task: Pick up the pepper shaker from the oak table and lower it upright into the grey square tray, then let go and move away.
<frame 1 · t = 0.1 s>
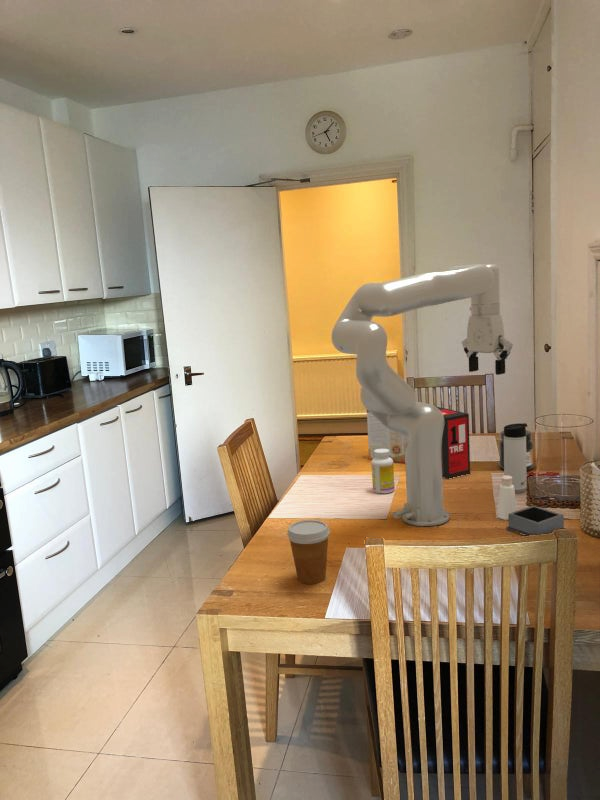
hand: (486, 372, 184), 37 cm above the table, tool pointing down, fingers open, 9 cm apart
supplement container: (516, 468, 218), on the table
pepper shaker: (507, 517, 177), on the table
disposable coffee cup: (311, 578, 149), on the table
travel mug: (516, 490, 196), on the table
grey square tray: (535, 530, 166), on the table
cleaning product box: (443, 471, 220), on the table
supplement bottle: (383, 491, 204), on the table
cracker box: (390, 460, 238), on the table
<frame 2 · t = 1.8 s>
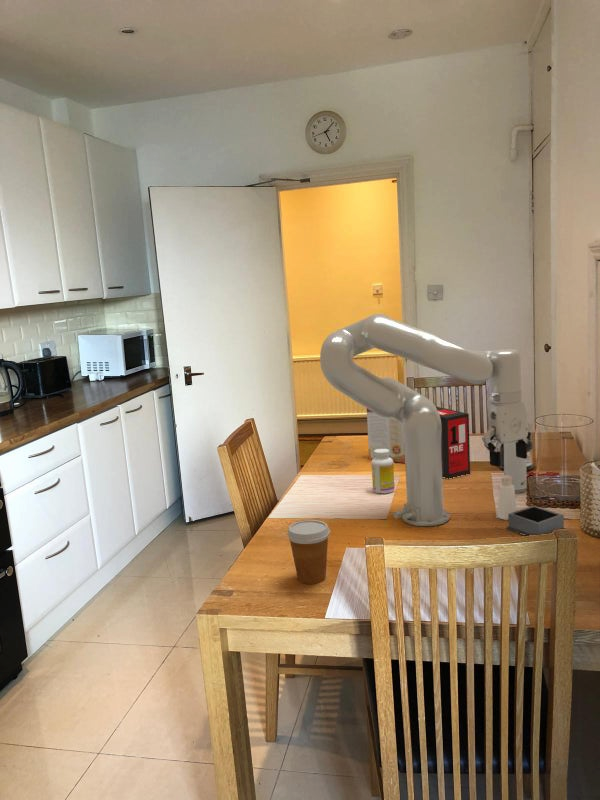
hand: (508, 461, 174), 15 cm above the table, tool pointing down, fingers open, 9 cm apart
nothing on the table moved.
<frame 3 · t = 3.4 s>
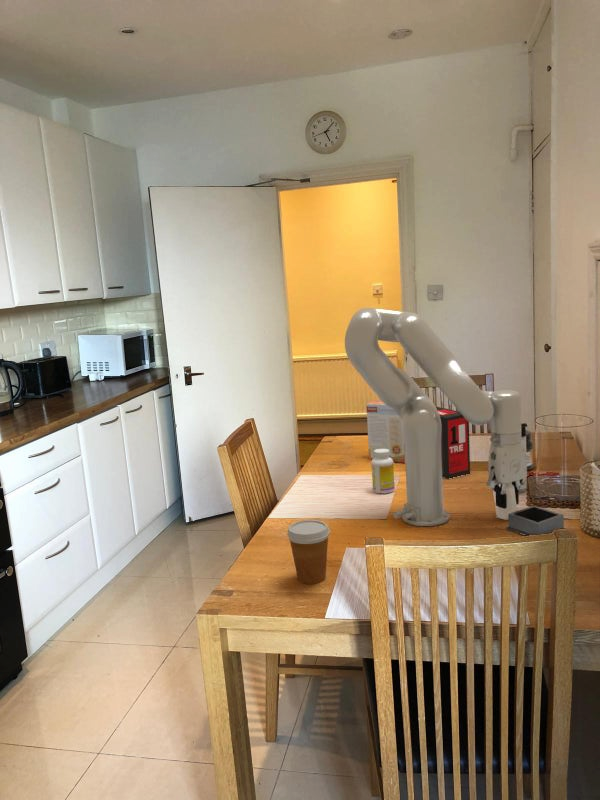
hand: (507, 504, 176), 3 cm above the table, tool pointing down, fingers closed on pepper shaker, 3 cm apart
pepper shaker: (507, 517, 177), on the table, touching gripper
everything else where it was.
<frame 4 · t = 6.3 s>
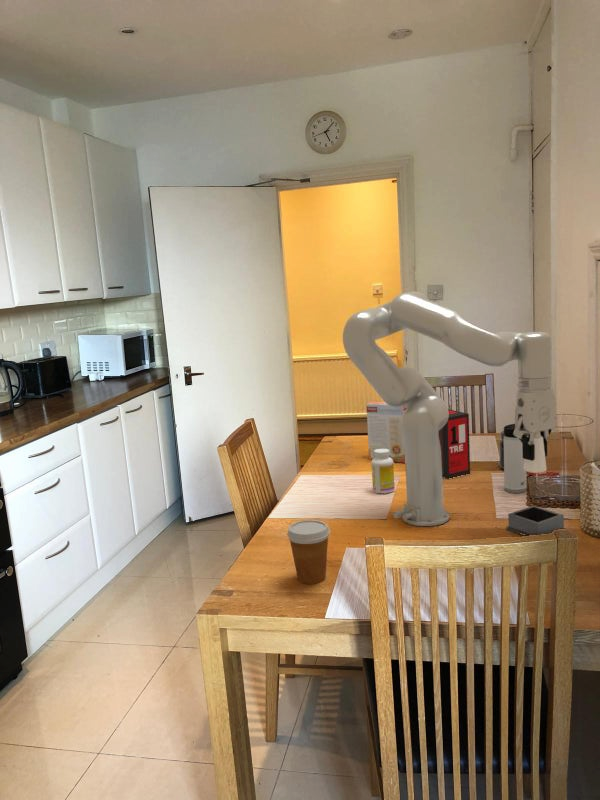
hand: (534, 456, 163), 19 cm above the table, tool pointing down, fingers closed on pepper shaker, 3 cm apart
pepper shaker: (535, 470, 163), point 15 cm above the table, touching gripper
everything else where it was.
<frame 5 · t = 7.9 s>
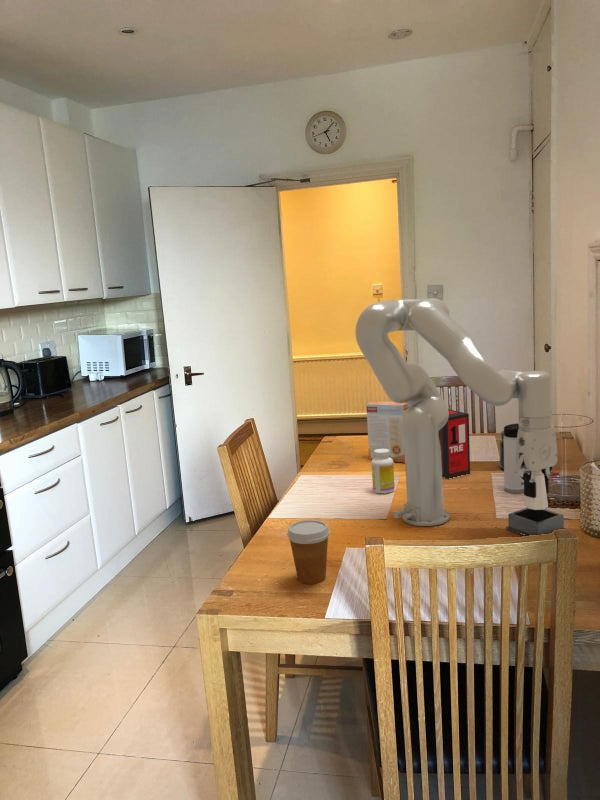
hand: (536, 493, 164), 10 cm above the table, tool pointing down, fingers closed on pepper shaker, 3 cm apart
pepper shaker: (536, 507, 165), point 6 cm above the table, touching gripper
everything else where it was.
when the fingers open (5 cm above the table, at t = 9.1 s): pepper shaker drops 1 cm, resting on grey square tray.
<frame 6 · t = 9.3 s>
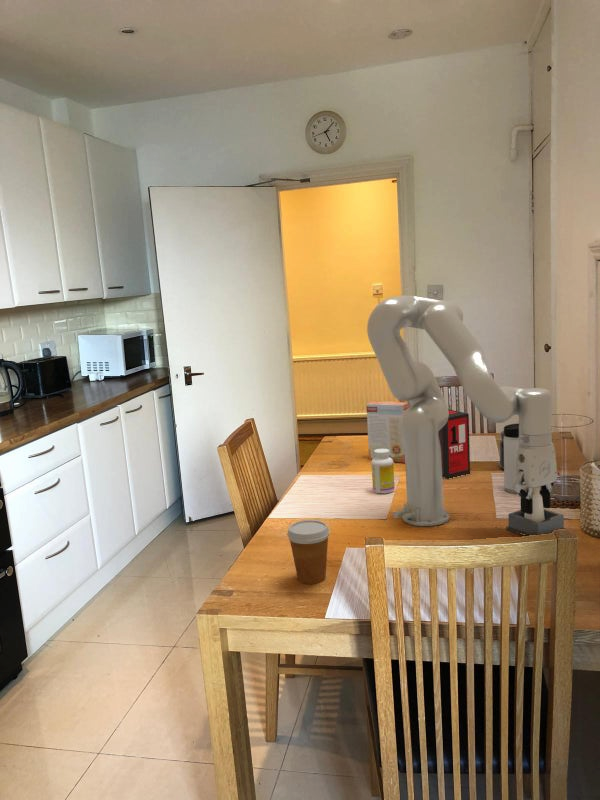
hand: (535, 509, 165), 6 cm above the table, tool pointing down, fingers open, 5 cm apart
pepper shaker: (534, 528, 166), resting on grey square tray
everything else where it was.
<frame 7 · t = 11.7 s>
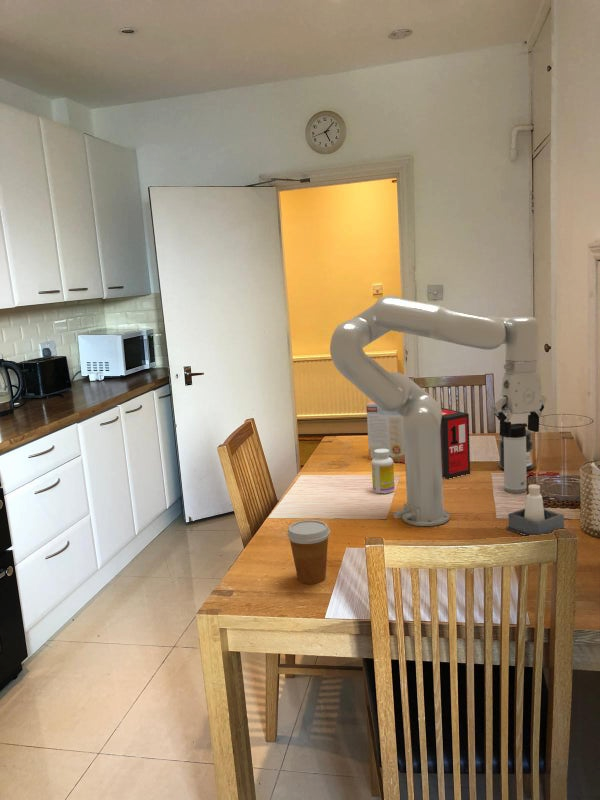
hand: (519, 433, 169), 23 cm above the table, tool pointing down, fingers open, 9 cm apart
nothing on the table moved.
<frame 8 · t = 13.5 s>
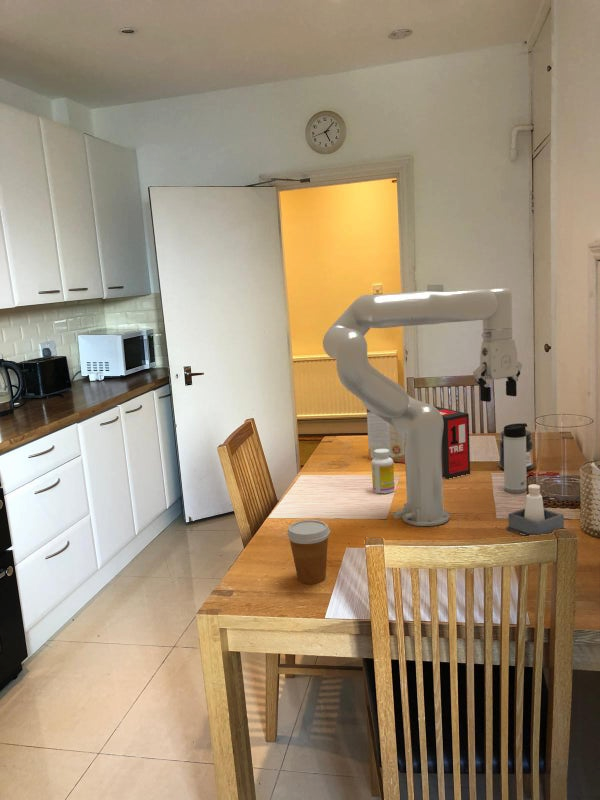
hand: (498, 398, 179), 30 cm above the table, tool pointing down, fingers open, 9 cm apart
nothing on the table moved.
at the end: pepper shaker 0.4 cm off-centre on the grey square tray, point 0.4 cm above the grey square tray's base; pepper shaker tilted 0°; the gripper is holding nothing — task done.
